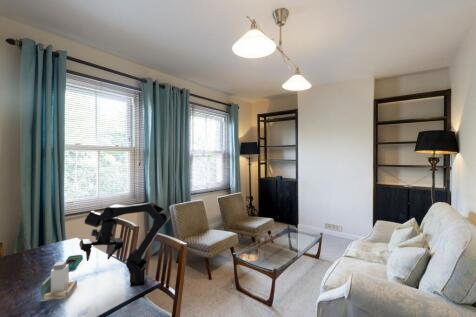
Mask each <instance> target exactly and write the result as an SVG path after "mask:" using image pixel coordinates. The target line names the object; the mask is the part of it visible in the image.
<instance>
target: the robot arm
mask: <svg viewBox="0 0 476 317" xmlns="http://www.w3.org/2000/svg"><path fill="white" fill-rule="evenodd" d="M144 212H146V213H147V214H148V216H150V218H152V220H153V222H152V225H151V228H150V229H149V231H148V232H147V234H146V235H145V238H144V239H142V240H143V241H142V242H141V243H140V244H139V247H138V248H134V249H133V250H132V251H131V252H130V253H129V256H128V257H127V258H126V260H125V266H126V268H127V270H128V272H129V283H130V285H129V287H135V286H136V287H138V286H144V285H145V284H146V281H147V277H146V276H147V275H146V274H147V271H146V267H147V265H148V263H149V262H148V261H147V260H146V259H145V256H146V252H147V250H148V249H149V248H150V245H151V244H152V242H153V241H154V239H155V238H156V236H157V234H158V233H159V232H160V230H161V228H163V226H165V224H166V223H167V222H169V220H170V219H171V216H172V215H171V212H170V211H169V210H167V209H164V208H163V207H161V206H159V205H157V204H156V203H154V202H153V201H149V202H145V203H137V204H135V203H134V204H128V205H127V204H126V205H125V204H124V205H123V204H111V205H110V206H107V207H105V208H104V209H103V212H102V213H100V212H97V211H95V210H91V211H90V212H89V213H88V214H87V216H86V218H85V219H84V224H85V225H87V226H89V227H90V226H91V227H94V228H95V229H92V230H91V233H90V234H91V235H90V236H91V237H94V238H95V241H92V239H91V238H84V239H81V240H80V241H79V243H78V245H79V247H80V250H81V251H83V252H85V256H86V261H87V262H89V260H90V257H91V252H92V247H95V246H96V247H97V246H98V247H99V246H100V247H101V246H110V249H109V252H108V255H107V257H106V259H107V260H110V259H111V257H112V256H113V255H114V254H115V253H116V252H117V251H118V250H121V249H123V248H124V245H125V242H124V240H123V239H122V238H121V237H114V238H113V239H112V237H113V234H114V233H113V232H114V230H115V225H118V224H120V223H121V220H120V219H119V218H118V217H120V216H123V215H128V214H136V213H144ZM99 227H100V229H99V230H98V229H97V228H99ZM111 239H112V240H111Z"/></svg>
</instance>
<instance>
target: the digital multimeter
mask: <svg viewBox="0 0 476 317" xmlns="http://www.w3.org/2000/svg"><path fill="white" fill-rule="evenodd" d="M83 257H84V256H83V255H82V254H74V255H69V256H67V258H66V260H65V261H66V265H68V264H69V271H73V270H76V269H77V267H78V265H79V264H80V262H81V261H82V260H83Z"/></svg>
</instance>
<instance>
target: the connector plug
mask: <svg viewBox="0 0 476 317" xmlns="http://www.w3.org/2000/svg"><path fill="white" fill-rule="evenodd" d="M69 272H70V270H69V264H68V265H66V260H65V261H57V262H56V263H55V264H54V265H53V268H52V269H51V271H50V275H51V293H56V292H63V291H67V289H68V288H69V281H70V277H69V276H70V275H69Z"/></svg>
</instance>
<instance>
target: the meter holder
mask: <svg viewBox="0 0 476 317" xmlns="http://www.w3.org/2000/svg"><path fill="white" fill-rule="evenodd" d="M77 285H78V280H77V279H75V280H73V279H71V280H69V288H68V289H67V291H63V292H56V293H51V274H50V275H49V276H48V277H47V278H46V279H45V280H44V281H43V283H41V284H40V286H41V287H40V290H41V292H40V293H41V294H40V295H41V296H40V297H41V298H40V302H45V301H53V300H61V299H68V298H69V297H70V296H71V295H72V293H73V291H74V290H76V287H77Z"/></svg>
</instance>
